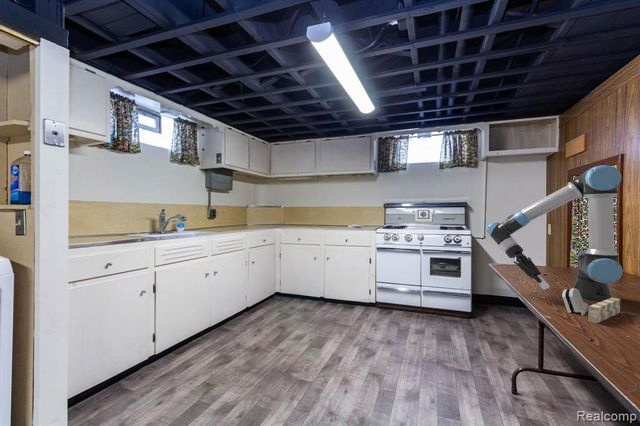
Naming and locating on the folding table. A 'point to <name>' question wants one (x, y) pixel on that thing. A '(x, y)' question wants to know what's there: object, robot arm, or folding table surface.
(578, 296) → the white black rounded case
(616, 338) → the folding table surface
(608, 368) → the folding table surface
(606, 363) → the folding table surface
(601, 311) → the bench stop
